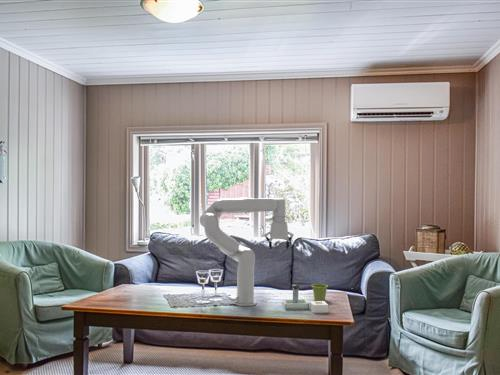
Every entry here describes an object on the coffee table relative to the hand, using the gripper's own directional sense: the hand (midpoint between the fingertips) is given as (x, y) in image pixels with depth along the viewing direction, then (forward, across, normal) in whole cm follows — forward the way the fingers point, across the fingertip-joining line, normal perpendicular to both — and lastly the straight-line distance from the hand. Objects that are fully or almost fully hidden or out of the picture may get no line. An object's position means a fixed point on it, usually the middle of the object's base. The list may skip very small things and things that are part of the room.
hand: (278, 248), depth 238 cm
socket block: (+30, +18, -23) cm, 42 cm away
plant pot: (+31, +24, -1) cm, 39 cm away
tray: (+30, +7, -15) cm, 35 cm away
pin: (+29, +7, -15) cm, 34 cm away
